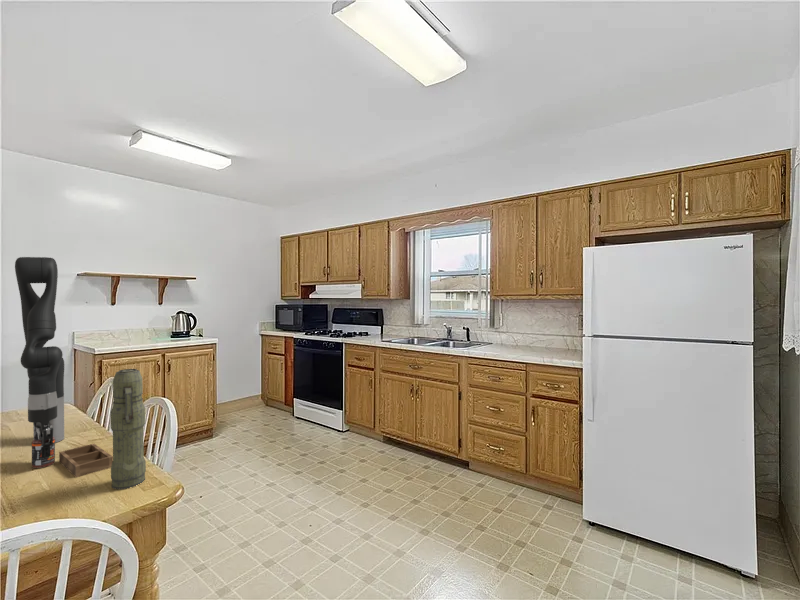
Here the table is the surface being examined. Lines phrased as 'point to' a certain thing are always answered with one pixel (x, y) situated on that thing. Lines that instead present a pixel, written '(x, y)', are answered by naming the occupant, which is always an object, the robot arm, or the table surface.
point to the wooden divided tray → (85, 460)
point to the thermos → (127, 430)
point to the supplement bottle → (36, 454)
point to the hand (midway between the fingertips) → (43, 454)
